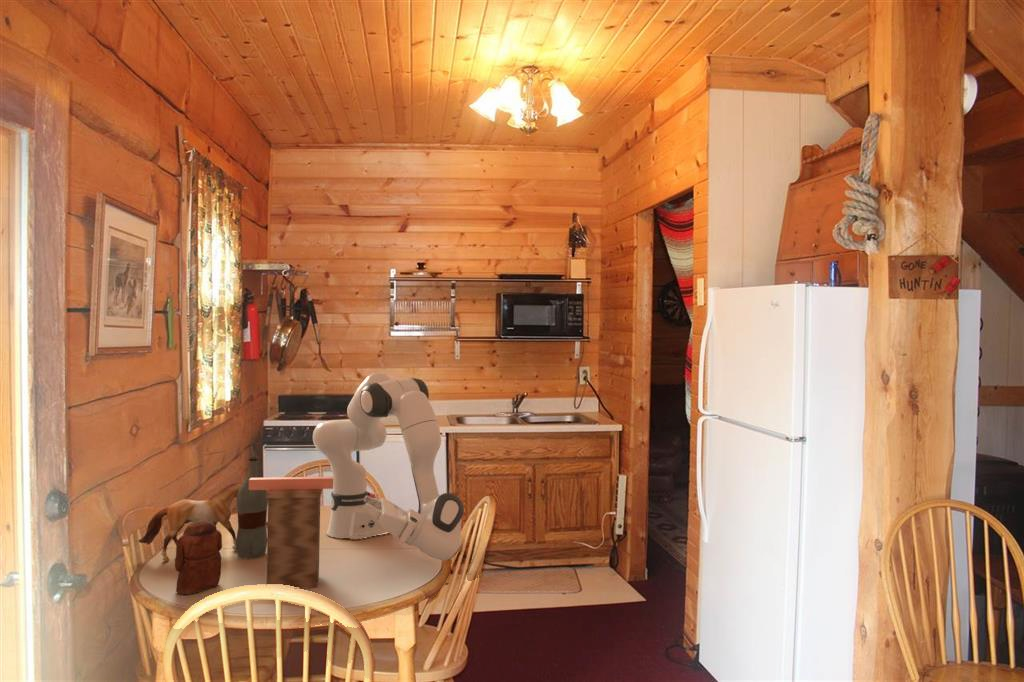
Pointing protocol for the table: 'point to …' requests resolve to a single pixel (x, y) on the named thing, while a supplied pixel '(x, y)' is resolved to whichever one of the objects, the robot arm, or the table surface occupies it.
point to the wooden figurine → (198, 558)
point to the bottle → (251, 517)
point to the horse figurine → (194, 515)
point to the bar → (290, 483)
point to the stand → (293, 537)
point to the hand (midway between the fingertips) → (364, 501)
